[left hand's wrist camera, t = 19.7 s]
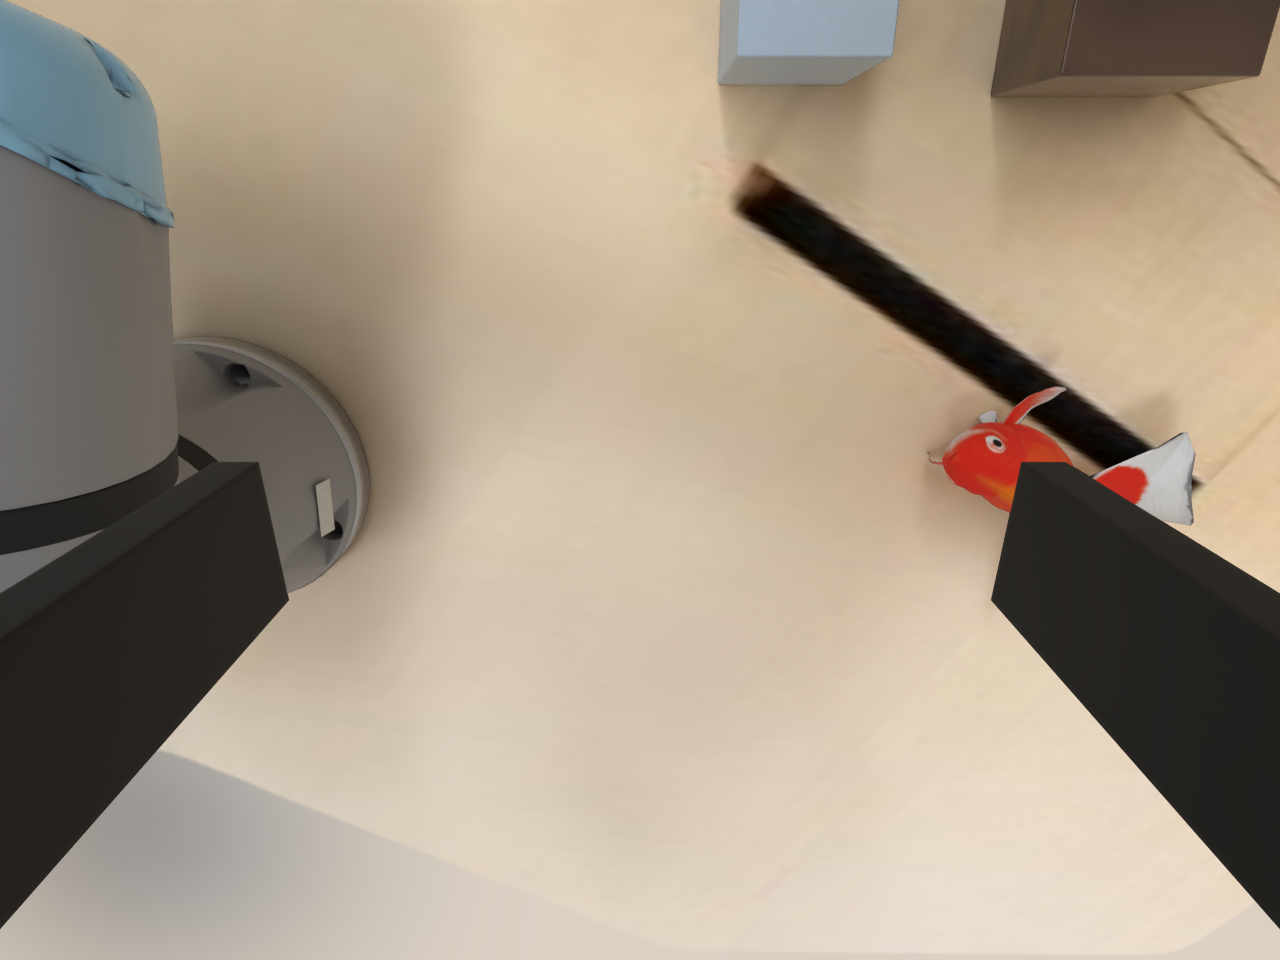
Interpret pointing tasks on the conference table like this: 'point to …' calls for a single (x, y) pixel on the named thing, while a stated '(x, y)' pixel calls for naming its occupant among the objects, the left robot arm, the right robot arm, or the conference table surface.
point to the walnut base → (1129, 46)
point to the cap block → (803, 40)
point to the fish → (998, 448)
